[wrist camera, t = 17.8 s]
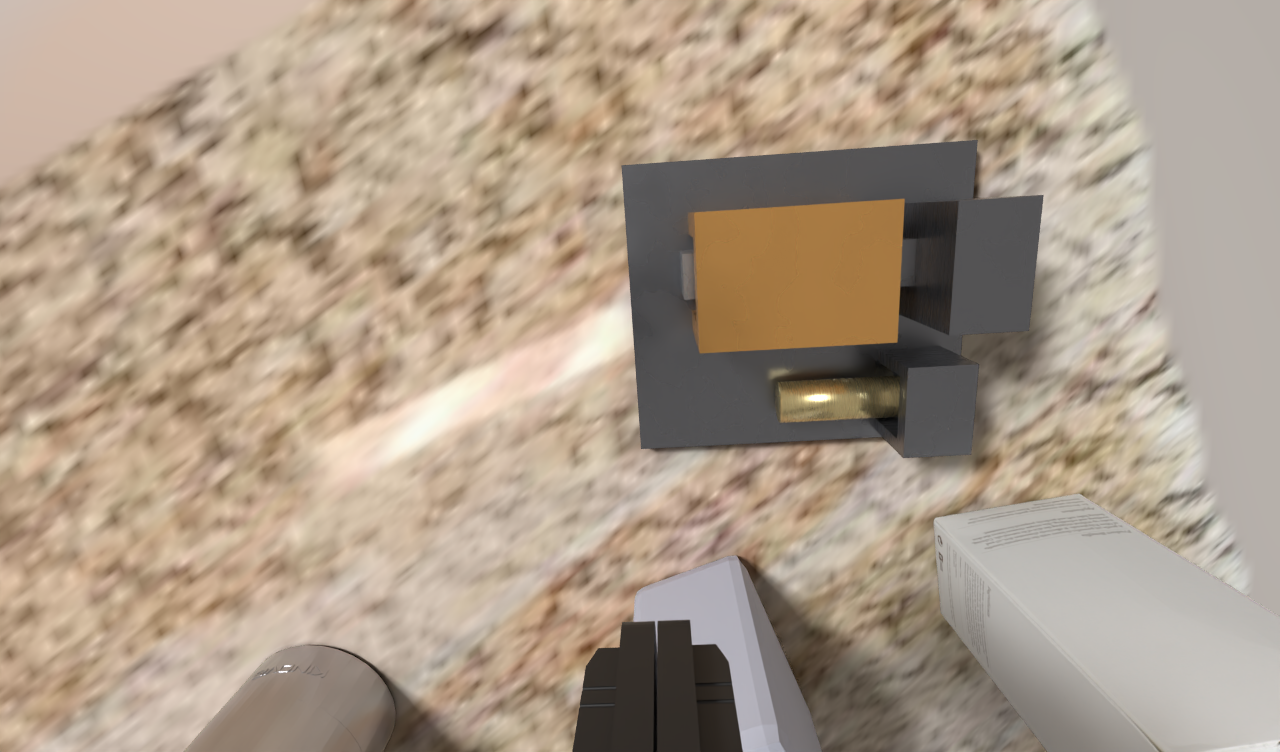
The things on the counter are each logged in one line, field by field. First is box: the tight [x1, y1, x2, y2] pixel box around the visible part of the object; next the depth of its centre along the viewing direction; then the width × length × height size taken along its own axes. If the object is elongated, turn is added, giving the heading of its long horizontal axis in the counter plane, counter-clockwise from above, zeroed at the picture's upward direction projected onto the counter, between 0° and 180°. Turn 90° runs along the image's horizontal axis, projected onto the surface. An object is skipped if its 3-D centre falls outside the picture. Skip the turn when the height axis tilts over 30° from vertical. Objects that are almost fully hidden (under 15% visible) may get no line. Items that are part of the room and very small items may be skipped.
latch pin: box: [775, 375, 900, 423], centre depth 29 cm, size 2×6×2 cm, turn 94°
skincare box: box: [934, 494, 1280, 752], centre depth 26 cm, size 8×7×16 cm
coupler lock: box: [688, 199, 905, 353], centre depth 26 cm, size 6×8×5 cm
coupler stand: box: [622, 140, 1043, 458], centre depth 26 cm, size 14×16×7 cm
